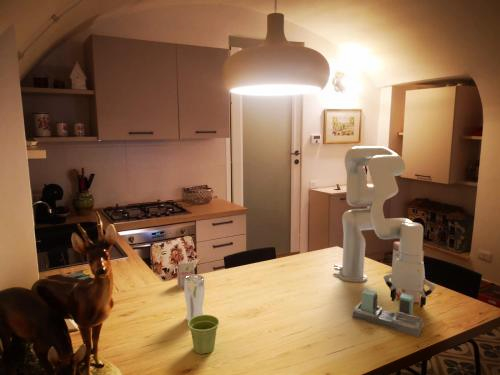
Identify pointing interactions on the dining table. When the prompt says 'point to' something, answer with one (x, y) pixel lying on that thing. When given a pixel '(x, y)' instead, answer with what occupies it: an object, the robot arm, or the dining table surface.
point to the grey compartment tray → (390, 320)
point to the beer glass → (194, 295)
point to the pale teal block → (406, 304)
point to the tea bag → (184, 272)
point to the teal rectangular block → (369, 300)
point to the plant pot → (203, 332)
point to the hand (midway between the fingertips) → (407, 303)
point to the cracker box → (398, 290)
